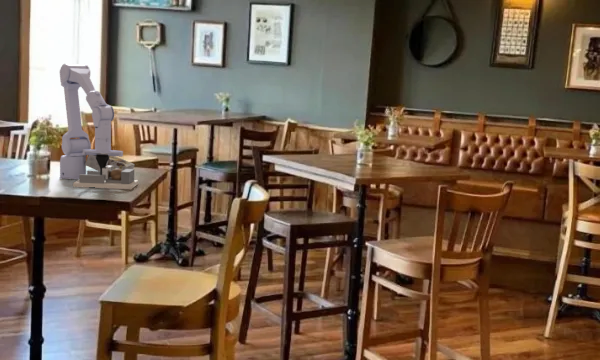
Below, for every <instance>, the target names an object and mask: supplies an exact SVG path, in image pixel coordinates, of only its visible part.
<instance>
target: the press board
mask: <svg viewBox="0 0 600 360" xmlns="http://www.w3.org/2000/svg"><path fill="white" fill-rule="evenodd" d="M72 185H73V188H89V187H95V188H94V189H113V190H114V189H116V190H117V189H118V190H119V189H120V190H132V189H133V188H135V187H136V186H138V185H139V180H138V179H135V169H134V168H133V169H125V170H123V171H122V172H121V180H112V179H111V178H109V179H105V175H100V171H97V170H86V174H79V179H77V180H76V181H73V183H72Z"/></svg>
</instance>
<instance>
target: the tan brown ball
mask: <svg viewBox="0 0 600 360" xmlns="http://www.w3.org/2000/svg"><path fill="white" fill-rule="evenodd" d="M121 172H122V170H121V169H119V168H115V169H113V170H112V171H111V173H110V177H111V179H112V180H121Z"/></svg>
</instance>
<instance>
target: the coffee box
mask: <svg viewBox="0 0 600 360" xmlns="http://www.w3.org/2000/svg"><path fill="white" fill-rule="evenodd" d="M97 154H101V153H97ZM85 165H86V167H88V168H91V169H93V170H94V171H100V166H99V164H98V162H97V160H96V155H87V156H86V164H85ZM108 165H110V166H113V169H115V168H119V169H121V170H122V171H123V170H125V169H134V168H135V163H132V162H130V161H128V160H126V159H123V158H122V157H121V158H120V157H119V156H110V157H109V160H108V162H107V164H106V166H108ZM106 166H105V167H106Z"/></svg>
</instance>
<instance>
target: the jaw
mask: <svg viewBox="0 0 600 360" xmlns="http://www.w3.org/2000/svg"><path fill="white" fill-rule="evenodd" d="M112 170H113V166H110V165H108V166H106V167H104V168H102V175H105V179H109V178H111V177H110V173H111V171H112Z"/></svg>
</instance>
